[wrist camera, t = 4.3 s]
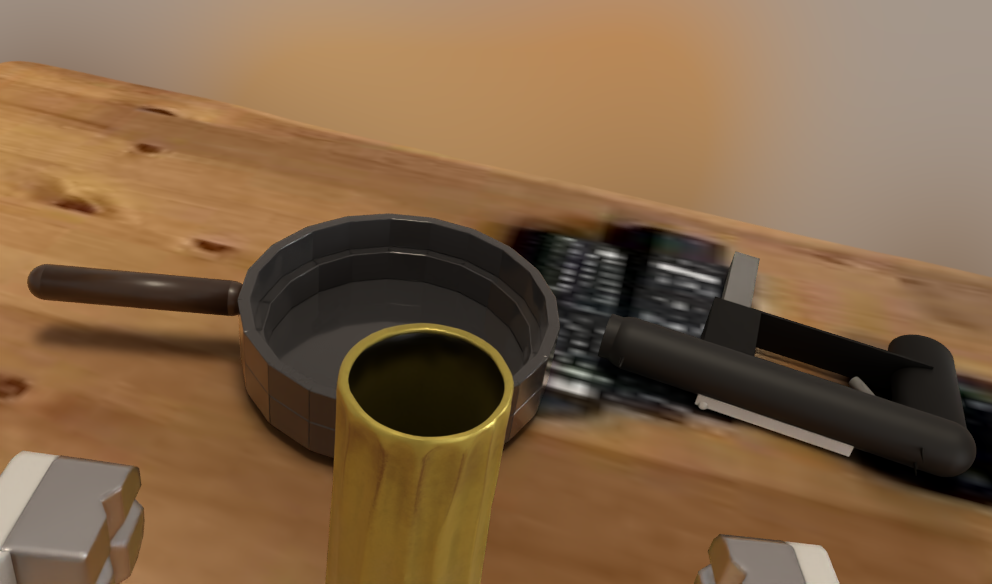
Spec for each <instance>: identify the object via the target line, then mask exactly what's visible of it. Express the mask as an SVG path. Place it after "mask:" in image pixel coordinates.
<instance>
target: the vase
mask: <svg viewBox="0 0 992 584" xmlns="http://www.w3.org/2000/svg"><path fill="white" fill-rule="evenodd" d="M513 390H514V382H513V377H512V374H511V372H510V370H509V368H508V366H507V364H506V363H505V361H504V359H503V358H502V356H501V355H500V354H499V352H498V351H497V350H496V349H495V348H494V347H492V346H491V345H490V344H488V343H487V342H486V341H484V340H483V339H481V338H479V337H477V336H475V335H473V334H471V333H469V332H467V331H464V330H461V329H457V328H453V327H449V326H444V325H439V324H431V323H414V324H405V325H398V326H393V327H389V328H385V329H382V330H380V331H377V332H375V333H372V334H370V335H369V336H367V337H366V338H364V339H362V340H361V341H359V342H358V343H357V344H356V345H355V346H353V347H352V348H351V349H350V351H349V352H348V353H347V355H346V356H345V358H344V360H343V361H342V364H341V367H340V370H339V375H338V381H337V390H336V426H335V449H334V468H333V488H332V500H331V511H330V524H329V543H328V555H327V568H326V581H325V584H480V582H481V576H482V569H483V562H484V556H485V549H486V543H487V536H488V529H489V522H490V513H491V506H492V502H493V498H494V493H495V489H496V484H497V478H498V473H499V468H500V462H501V457H502V451H503V446H504V440H505V434H506V428H507V424H508V419H509V415H510V410H511V402H512V398H513Z"/></svg>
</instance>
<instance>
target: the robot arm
mask: <svg viewBox="0 0 992 584" xmlns="http://www.w3.org/2000/svg"><path fill="white" fill-rule="evenodd" d="M140 487H141V478H140V471H139V468H138V467H135V466H131V465H124V464H117V463H110V462H103V461H96V460H89V459H82V458H75V457H68V456H62V455H61V456H58V455H51V454H44V453H36V452H29V451H21V452H20V453H19V454H17V455H16V456H15V457H13V458H12V459H11V460H10V462H9V463H8V465H7V466H6V468H5V469H4V471H3V472H2V474H1V475H0V584H120V583H121V582H123V581H124V580H125V579H127V578H128V577H130V575H131V573H132V570H133V568H134V565H135V563H136V561H137V558H138V554H139V551H140V547H141V543H142V539H143V532H144V508H143V507H142V506H141V505H140V504H139V503H138V502H137V501H136V500H135V498H136V496H137V494H138V491H139V489H140ZM708 553H709V558H710V562H711V564H710V565H708V566H706V567H705V568H703V569H701V570H700V571H699V572H698V574H697V577H696V579H695V582H694V584H839V581H838V579H837V576H836V574H835V571H834V569H833V566H832V564H831V561H830V559H829V556H828V554H827V552H826V551H825V549H824V548H823V547H822V546H820V545H811V544H803V543H794V542H784V541H779V540H770V539H760V538H751V537H741V536H732V535H722V534H719V535H718V536H717V537H716V538H714V539H713V541H712V543H711V546H710V548H709V550H708Z"/></svg>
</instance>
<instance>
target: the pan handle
mask: <svg viewBox="0 0 992 584" xmlns="http://www.w3.org/2000/svg"><path fill="white" fill-rule="evenodd" d="M27 284H28V288H29V290H30V292H31V293H32V294H33V295H34V296H36V297H37V298H40V299H43V300H52V301H63V302H75V303H86V304H98V305H110V306H121V307H133V308H145V309H156V310H168V311H179V312H191V313H203V314H214V315H226V316H235V315H238V296H239V294H240V291H241V288H242V285H243V284H241V283H239V282H237V281H230V280H219V279H208V278H197V277H186V276H175V275H164V274H152V273H141V272H130V271H119V270H108V269H97V268H86V267H75V266H64V265H53V264H44V265H40V266H38V267H36V268H34V269H33V270H32V271H31V272H30V274H29V276H28V280H27Z"/></svg>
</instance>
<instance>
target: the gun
mask: <svg viewBox="0 0 992 584" xmlns="http://www.w3.org/2000/svg"><path fill="white" fill-rule="evenodd" d="M758 265H759V258H756V257H752V256H749V255H746V254H742V253H739V252H735V254H734V257H733V260H732V263H731V265H730V268H729V271H728V275H727V279H726V283H725V287H724V291H723V295H722V299H721V298H718V297H715V299H714V301H713V304H712V307H711V310H710V313H709V315H708V318H707V321H706V324H705V327H704V329H703V332H702V335H701V339H699V338H696V337H693V336H690V335H687V334H684V333H681V332H678V331H675V330H672V329H669V328H666V327H663V326H659V325H656V324H653V323H650V322H647V321H644V320H641V319H638V318H634V317H621V316H618V315H615V314H612V315H611V317H610V319H609V322H608V325H607V327H606V330H605V333H604V336H603V339H602V342H601V346H600V349H599V354H598V356H600V357H603V358H606V359H608V360H609V361H610V362H611V363H612V364H613V365H615V366H616V367H618V368H620V369H623V370H626V371H629V372H632V373H635V374H638V375H641V376H644V377H647V378H650V379H653V380H656V381H659V382H662V383H665V384H667V385H670V386H673V387H676V388H679V389H682V390H685V391H688V392H691V393H694V394H697V397H696V401H695V404H696V405H698V407H699V408H700V409H702V410H705V409H707V408H708V409H711V410H713V411H716V412H719V413H722V414H725V415H728V416H731V417H734V418H737V419H740V420H743V421H746V422H749V423H751V424H754V425H757V426H760V427H763V428H766V429H769V430H772V431H775V432H778V433H781V434H784V435H787V436H790V437H792V438H795V439H798V440H801V441H804V442H807V443H810V444H813V445H816V446H819V447H822V448H825V449H828V450H830V451H833V452H836V453H839V454H842V455H845V456H848V457H849V456H850V454H851V452H852V450H853V448H856V449H859V450H862V451H865V452H868V453H871V454H874V455H877V456H880V457H883V458H885V459H888V460H891V461H894V462H897V463H900V464H903V465H906V466H909V467H912V468H914V470H915V474H916V473H917V469H918V470H921V471H924V472H927V473H930V474H933V475H936V476H940V477H954V476H957V475H960V474H962V473H964V472H965V471H967V470H968V469H969V468H970V467H971V465H972V464H973V462H974V460H975V456H976V445H975V441H974V439H973V437H972V435H971V434H970V433H969V431H968V430H967V428H966V423H965V418H964V413H963V407H962V402H961V397H960V391H959V386H958V381H957V376H956V370H955V365H954V360H953V356H952V354H951V353H950V351H949V350H948V349H947V348H946V347H945V346H944V345H942V344H941V343H939V342H938V341H936V340H934V339H931V338H928V337H925V336H921V335H903V336H900V337H897V338H895V339H894V340H893V341H892V342H891V343H890V344H889V347H888V351H886V350H883V349H880V348H876V347H873V346H870V345H867V344H864V343H861V342H857V341H854V340H851V339H848V338H845V337H842V336H838V335H835V334H832V333H829V332H826V331H822V330H819V329H816V328H813V327H810V326H807V325H803V324H800V323H797V322H794V321H791V320H788V319H784V318H781V317H778V316H775V315H772V314H768V313H765V312H762V311H759V310H756V309H753V308H751V303H752V297H753V292H754V286H755V281H756V276H757V270H758ZM756 347H757V348H760V349H763V350H766V351H770V352H773V353H776V354H779V355H782V356H785V357H788V358H791V359H794V360H797V361H800V362H804V363H807V364H810V365H813V366H816V367H819V368H822V369H825V370H828V371H831V372H834V373H838V374H841V375H844V376H847V377H850V378H852V379H851V380H850V382H849V385H850V386H851V387H852V388H850V387H847V386H844V385H841V384H837V383H834V382H831V381H828V380H825V379H822V378H819V377H816V376H813V375H810V374H807V373H804V372H801V371H798V370H794V369H791V368H788V367H785V366H782V365H779V364H776V363H773V362H770V361H767V360H764V359H761V358H758V357H755V356H754V355H755V349H756ZM864 382H865V383H868V384H872V385H875V386H878V387H881V388H884V389H887V390H890V391H891V393H892V401H890V400H887V399H883V398H880V397H877V396H875V395H874V394H873V392H872V391H871V390H870V389H869V388H868V387H867V386H866V384H865V383H864Z"/></svg>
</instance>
